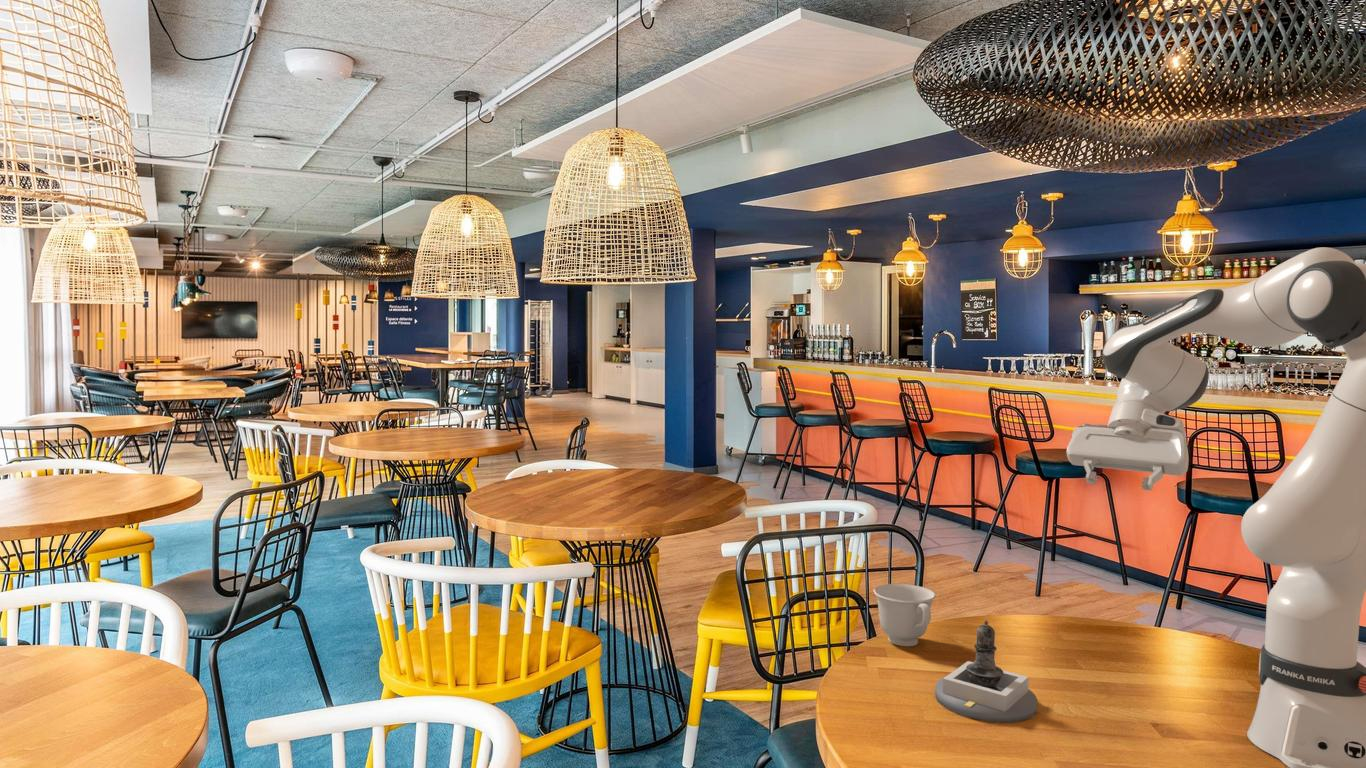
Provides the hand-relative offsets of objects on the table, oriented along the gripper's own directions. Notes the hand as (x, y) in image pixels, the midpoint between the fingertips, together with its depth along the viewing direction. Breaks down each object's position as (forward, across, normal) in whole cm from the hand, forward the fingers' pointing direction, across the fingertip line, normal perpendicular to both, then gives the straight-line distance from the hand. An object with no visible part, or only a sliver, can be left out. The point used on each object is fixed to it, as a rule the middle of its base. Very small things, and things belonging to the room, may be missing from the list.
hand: (1117, 485), depth 156 cm
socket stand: (+45, -12, +3) cm, 47 cm away
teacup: (+34, -34, +14) cm, 50 cm away
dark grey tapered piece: (+44, -12, +2) cm, 46 cm away
